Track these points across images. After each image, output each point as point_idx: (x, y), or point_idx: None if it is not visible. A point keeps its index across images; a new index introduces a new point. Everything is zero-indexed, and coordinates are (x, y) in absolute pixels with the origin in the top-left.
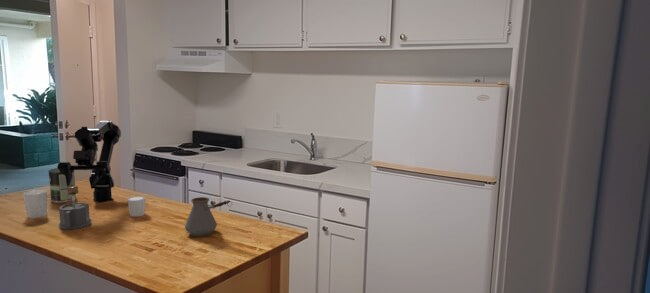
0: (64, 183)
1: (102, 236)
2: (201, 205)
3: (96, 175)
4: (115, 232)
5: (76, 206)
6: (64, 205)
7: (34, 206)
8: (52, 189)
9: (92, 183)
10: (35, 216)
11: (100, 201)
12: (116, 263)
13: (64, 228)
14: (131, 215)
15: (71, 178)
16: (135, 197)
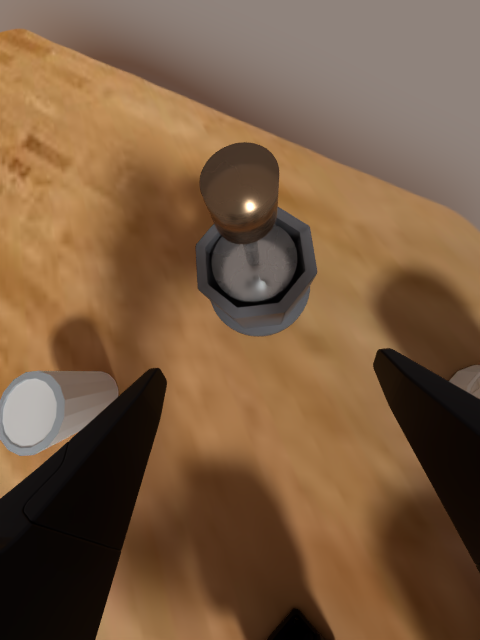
0: None
1: (143, 201)
2: None
3: (51, 462)
4: (120, 230)
5: (242, 261)
6: (305, 265)
7: None
8: None
9: (148, 372)
10: (473, 367)
11: (297, 624)
12: (78, 81)
13: None
14: (108, 376)
15: (467, 544)
16: (36, 434)
